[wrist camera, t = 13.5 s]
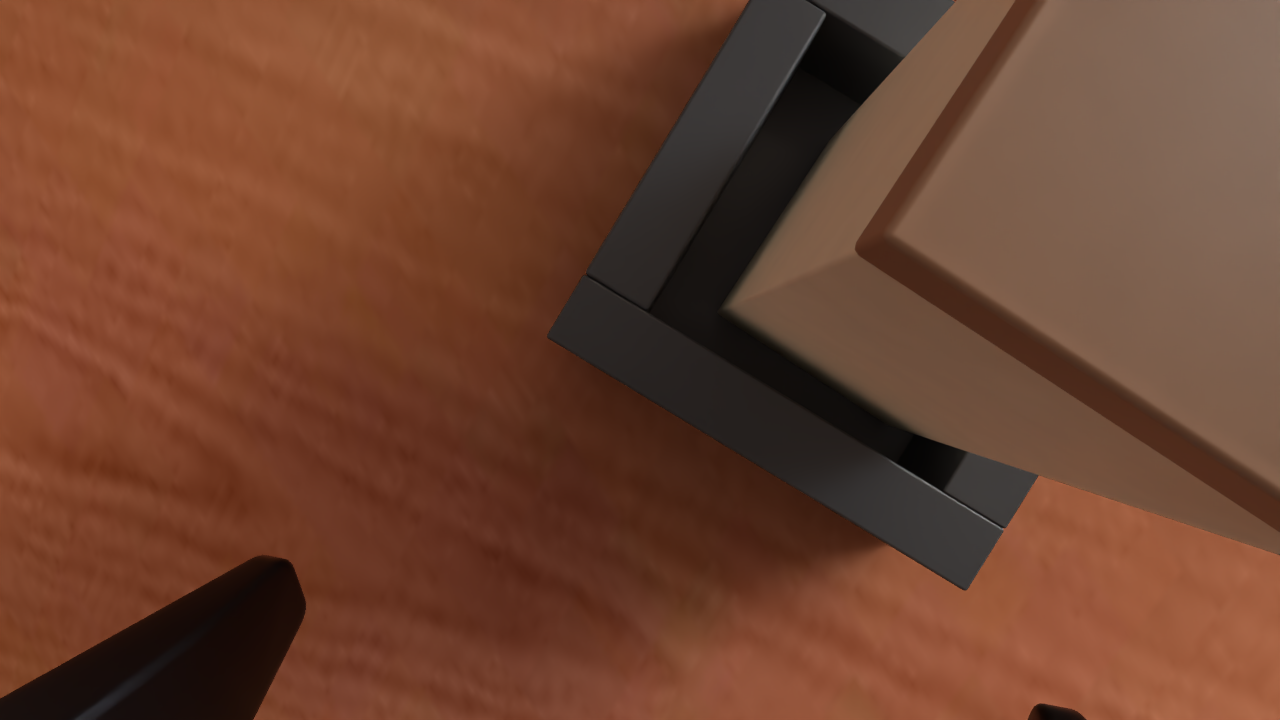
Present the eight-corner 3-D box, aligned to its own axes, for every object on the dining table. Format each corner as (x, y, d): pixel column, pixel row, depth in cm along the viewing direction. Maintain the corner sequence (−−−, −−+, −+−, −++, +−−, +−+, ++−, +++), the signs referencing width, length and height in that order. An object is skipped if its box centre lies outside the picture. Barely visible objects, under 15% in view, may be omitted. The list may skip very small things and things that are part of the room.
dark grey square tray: (899, 540, 19) (967, 592, 15) (566, 338, 19) (545, 336, 15) (1106, 205, 19) (1230, 168, 15) (770, 0, 19) (804, -92, 15)
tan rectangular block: (889, 432, 18) (1515, 654, 5) (710, 314, 18) (880, 237, 5) (1009, 252, 18) (1961, 9, 5) (829, 132, 18) (1314, -422, 5)
